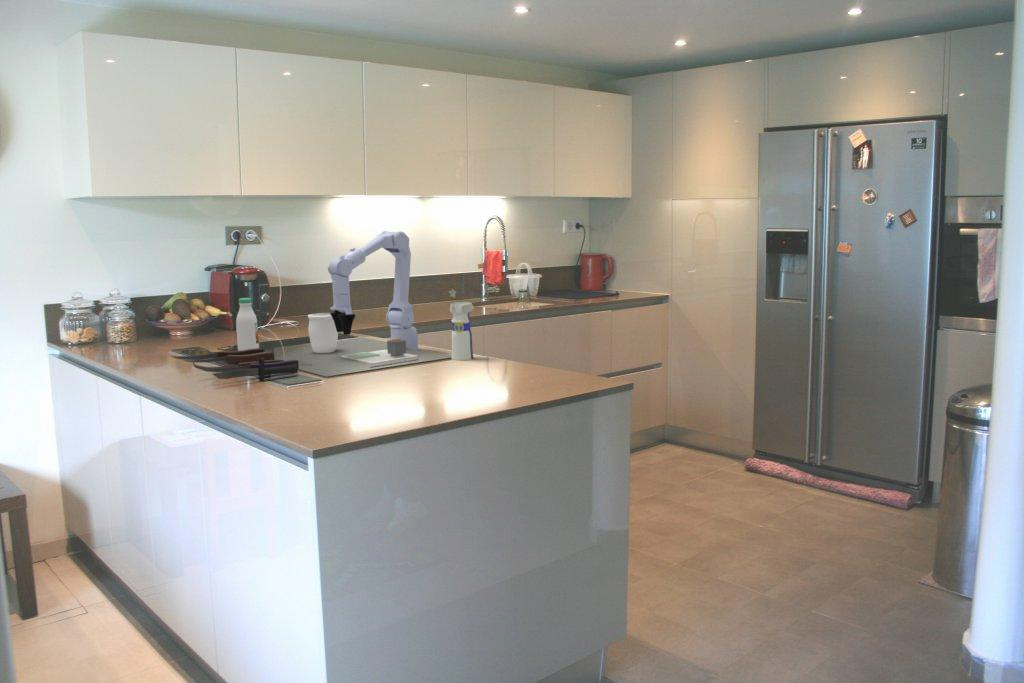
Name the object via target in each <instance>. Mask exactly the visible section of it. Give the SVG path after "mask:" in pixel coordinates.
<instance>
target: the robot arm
mask: <svg viewBox="0 0 1024 683" xmlns="http://www.w3.org/2000/svg"><path fill="white" fill-rule="evenodd" d="M380 249H383V250H386V251H387V252H389V253H391V255H392V256H393V257H394V258H395V260H394V262H395V264H394V279H393V280H394V281H393V297H392V298H393V299H392V301H391V302H390V304H389V305H388V309H387V312H386V314H385V319H386V323H387V324H388V325H389V328H390V340H392V339H398V338H401V340H406V350H407V349H408V350H412V351H420V348H419V337H418V336H419V335H418V330H417V329H416V327H415V326H412V325H413V324H414V323H415V315H414V314H415V313H414V307H413V305H411V303H410V302H409V295H410V292H409V290H410V276H411V262H412V261H411V258H412V253H411V247H410V237H409V236H408V235H407V234H406V233H405V231H386V230H384V231H382V232H381V233H379V234H377V235H376V237H374V238H373V239H372V240H370V241H369V242H367V243H366V244H365V245H363V246H362V247H360V248H359V247H351V248H350V249H349V251H348V252H346V253H345V254H341V255H340V256H339V258H335V259H334V258H333V259H332V260H331V261H330V263H329V264H328V267H327V271H328V273H329V274H330V277H331V278H330V279H331V283H332V299H333V305H332V306H331V307H330V310H332V312H331V311H330V312H329V313H330V314H331V316H332V318H333V320H334V323H335V327H336V330H337V332H338V333H343V335H344V336H345V335H351V332H352V327H353V322H354V320H355V318H356V314H355V313H353V310H352V306H351V292H350V291H351V290H350V289H351V288H350V276H351V274H352V272H353V270H354V269H356V268H357V267H359V266H361V264H363V263H364V262H366V259H367V258H366V257H368V256H369V255H371V254H373V253H375V252H377V251H379V250H380Z"/></svg>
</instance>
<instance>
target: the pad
mask: <svg viewBox="0 0 1024 683" xmlns="http://www.w3.org/2000/svg"><path fill="white" fill-rule="evenodd" d="M370 352H371V351H362V352H355V353H348V354H343V356H346V357H350V358H355V359H361V358H368V357H375V356H380V355H379V354H375V353H370ZM346 357H345V358H346ZM350 358H349V359H350Z"/></svg>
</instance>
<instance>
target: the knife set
mask: <svg viewBox="0 0 1024 683" xmlns="http://www.w3.org/2000/svg"><path fill="white" fill-rule="evenodd" d="M170 357H171V358H174V359H177V360H183V361H184V362H187V363H188V362H189V363H192V365H193V367H194V368H195V369H198V370H202V371H204V372H209V373H212V375H213V376H214V377H216V378H218V379H219V380H229V379H235V378H241V377H242V378H243V377H254V376H258V380H259V381H260V382H265V376H268V375H278V374H289V373H290V374H291V373H293V374H295V373H298V372H299V368H300V366H299V365H300V364H299V359H290V360H284V359H275V353H274V351H264V348H263V347H259V348H255V349H248V350H242V351H238V350H235V351H229V350H227V351H224V350H220V351H217V352H215V353H214V352H212V353H207V354H206V353H205V354H198V355H179V356H178V355H176V356H175V355H170ZM215 362H216V363H217V362H223V363H224V364H228V365H223V366H215V367H214V366H204V365H203V366H202V365H199V364H200V363H215ZM195 363H199V364H198V365H197V364H195Z"/></svg>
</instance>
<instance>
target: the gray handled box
mask: <svg viewBox="0 0 1024 683" xmlns="http://www.w3.org/2000/svg"><path fill="white" fill-rule="evenodd" d="M386 346H387V348H386V349H387V350H388V354H392V355H399V354H405V353H407V348H406V340H401V338H398V339H392V340H391V339H390V340H387V341H386Z"/></svg>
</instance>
